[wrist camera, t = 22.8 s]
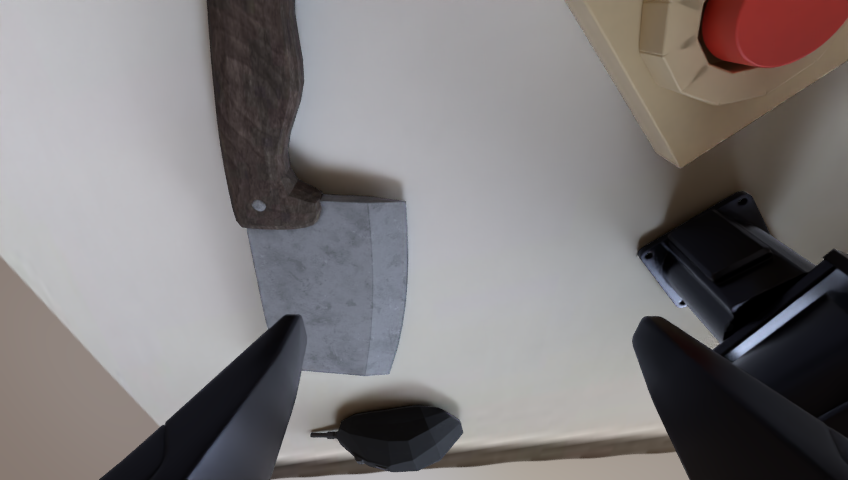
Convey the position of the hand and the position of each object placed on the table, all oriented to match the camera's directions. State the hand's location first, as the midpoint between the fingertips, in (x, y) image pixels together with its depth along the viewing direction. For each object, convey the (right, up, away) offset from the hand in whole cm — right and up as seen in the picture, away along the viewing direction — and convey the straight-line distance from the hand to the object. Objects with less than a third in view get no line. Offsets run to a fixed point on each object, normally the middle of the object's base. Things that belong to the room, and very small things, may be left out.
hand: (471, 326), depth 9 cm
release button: (+10, +11, +3) cm, 15 cm away
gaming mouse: (-5, -15, +25) cm, 30 cm away
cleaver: (-7, +4, +12) cm, 15 cm away
